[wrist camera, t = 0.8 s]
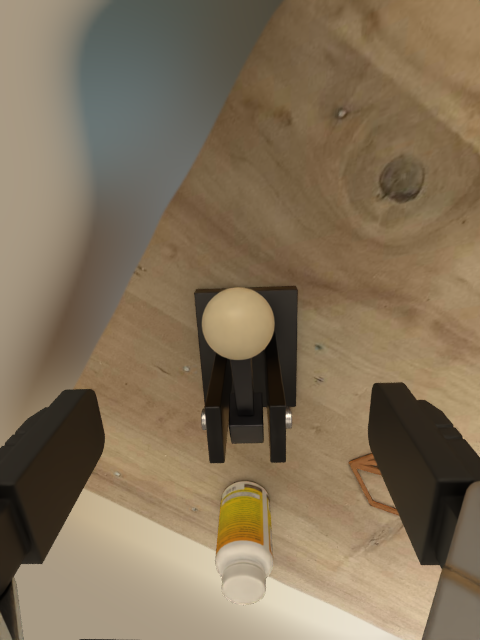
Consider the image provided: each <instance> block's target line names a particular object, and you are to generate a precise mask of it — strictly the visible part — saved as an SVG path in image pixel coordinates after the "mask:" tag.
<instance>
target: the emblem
mask: <svg viewBox="0 0 480 640" xmlns="http://www.w3.org/2000/svg"><path fill="white" fill-rule="evenodd" d="M371 459H374V456H373V454H369V455H366V456H364V457H361V458H358V459H355V460H352V461H350V462H349V464H350V466H351V468H352V470H353V472H354V474H355V476H356V478H357V480H358V482H359V484H360V486H361V488H362V490H363V492H364V494H365V496H366V497H367V499H368V501H369V503H370V505H371V506H373V507H376V508H379V509H382V510H385V511H387V512H390V513H393V514H396V515H399V514H398V511H397V509H394V508H392V507H389V506H386V505H383V504H380V503H378V502H375V501H373V500H372V498H371V496H370V494H369V492H368V491H367V489H366V487H365V485H364V483H363V481H362V479H361V477H360V475H359V473H358V471H357V469H361V470H364V471H368V472H371V473H375V474H378V475H381V472H380V470H379V468H377V467H373V466H370V465H377V463H376V461H375V460H371ZM356 468H357V469H356Z"/></svg>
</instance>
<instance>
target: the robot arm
mask: <svg viewBox="0 0 480 640" xmlns="http://www.w3.org/2000/svg"><path fill="white" fill-rule="evenodd" d="M368 439H369V445H370V449H371V452H372V454H373V456H374V459H375V461H376V463H377V466H378V468H379V470H380V472H381V475H382V477H383V479H384V482H385V484H386V486H387V488H388V491H389V493H390V495H391V498H392V500H393V502H394V504H395V507H396V509H397V511H398V514H399V516H400V518H401V520H402V523H403V525H404V527H405V530H406V532H407V534H408V536H409V539H410V541H411V543H412V546H413V548H414V550H415V552H416V555H417V557H418V559H419V562H420V564H421V565H440V566H441V568H442V572H441V575H440V579H439V582H438V586H437V589H436V592H435V596H434V599H433V603H432V606H431V610H430V613H429V617H428V620H427V624H426V627H425V630H424V634H423V637H422V640H480V457H479V456H478V455H477V453H476V452H475V451H474V450H473V449H472V447H471V446H470V445H469V444H468V442H467V441H466V440H465V439H463V438H462V435H461V434H460V433H459V431H458V430H457V429H456V428H454V427H453V424H452V423H451V422H450V420H449V419H448V418H447V417H446V416H445V414H444V413H443V412H442V411H441V410H439V409H438V408H436V407H435V406H433V405H432V404H430V403H429V402H427V401H426V400H416V398H415V397H414V396H413V394H412V393H411V392H410V390H409V389H408V388H407V386H406V385H405V384H404V383H402V382H399V383H375V384H374V385H373V387H372V394H371V404H370V414H369V424H368ZM104 443H105V434H104V429H103V424H102V420H101V415H100V411H99V406H98V402H97V397H96V394H95V392H94V391H93V390H92V389H76V390H64V391H63V392H62V393H61V394H60V395H59V396H58V397H57V398H56V399H55V400H54V401H53V403H52V404H51V405H50V406H49V407H45V408H44V409H42V410H40V411H39V412H37V413H36V414H34V415H33V416H31V417H30V418H28V419H27V420H26V421H25V422H24V423H23V424H22V425H21V426H20V428H19V429H18V430H17V431H16V432H15V435H12V436H11V437H10V438H9V439H8V440H7V442H6V443H5V446H2V447H1V448H0V640H24V637H23V630H22V623H21V615H20V606H19V599H18V591H17V584H16V581H15V578H14V575H15V573H16V572H17V570H18V568H19V567H20V565H21V564H42V563H43V561H44V560H45V558H46V556H47V554H48V552H49V550H50V548H51V547H52V545H53V543H54V541H55V539H56V537H57V536H58V533H59V532H60V530H61V528H62V526H63V525H64V523H65V521H66V519H67V517H68V516H69V513H70V512H71V510H72V508H73V506H74V504H75V502H76V501H77V499H78V497H79V495H80V493H81V492H82V490H83V488H84V486H85V484H86V482H87V481H88V479H89V477H90V475H91V473H92V471H93V470H94V468H95V466H96V464H97V462H98V460H99V459H100V457H101V455H102V452H103V449H104ZM80 640H111V639H80ZM112 640H113V639H112Z"/></svg>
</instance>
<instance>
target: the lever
mask: <svg viewBox="0 0 480 640" xmlns="http://www.w3.org/2000/svg"><path fill="white" fill-rule="evenodd" d="M274 326H275V322H274V315H273V312H272V309H271V307H270V305H269V304H268V302H267V301H266V300H265V299H264V298H263V297H262V296H261V295H260V294H258V293H257V292H255V291H253V290H251V289H247V288H242V287H234V288H229V289H226V290H223V291H221V292H219V293H218V294H217V295H215V296H214V297H213V298H212V299H211V300H210V301H209V303H208V304H207V306H206V308H205V310H204V313H203V317H202V330H203V334H204V337H205V339H206V341H207V343H208V345H209V346H210V347H211V348H212V349H213V350H214V351H215V352H216V353H218V354H219V355H221V356H223V357H225V358H228V359H230V363H231V371H232V378H233V386H234V393H230V394H229V431H230V437H231V442H232V443H233V444H237V443H263V442H264V434H263V401H262V393H254V389H253V369H252V357H254V356H256V355H257V354H259V353H260V352H262V351H263V350H264V349H265V348H266V346H267V345H268V344H269V342H270V340H271V338H272V336H273V332H274Z"/></svg>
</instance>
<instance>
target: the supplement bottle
mask: <svg viewBox="0 0 480 640" xmlns="http://www.w3.org/2000/svg"><path fill="white" fill-rule="evenodd" d="M215 564H216V569H217V571H218V573H219V574H220V575H221V577H222V593H223V595H224V596H225V598H226V599H228V600H229V601H231V602H233V603H235V604H241V605H249V604H253V603H256V602H258V601H259V600H261V599H262V598H263V597H264V595H265V591H266V585H265V584H266V578H267V577H268V576H269V575H270V573H271V571H272V568H273V549H272V530H271V513H270V500H269V496H268V494H267V492H266V490H265V489H264V488H263V487H261V486H260V485H258V484H256V483H253V482H249V481H241V482H236V483H234V484H232V485H230V486H229V487H227V488H226V489H225V491H224V492H223V494H222V497H221V505H220V515H219V526H218V538H217V548H216V560H215Z"/></svg>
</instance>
